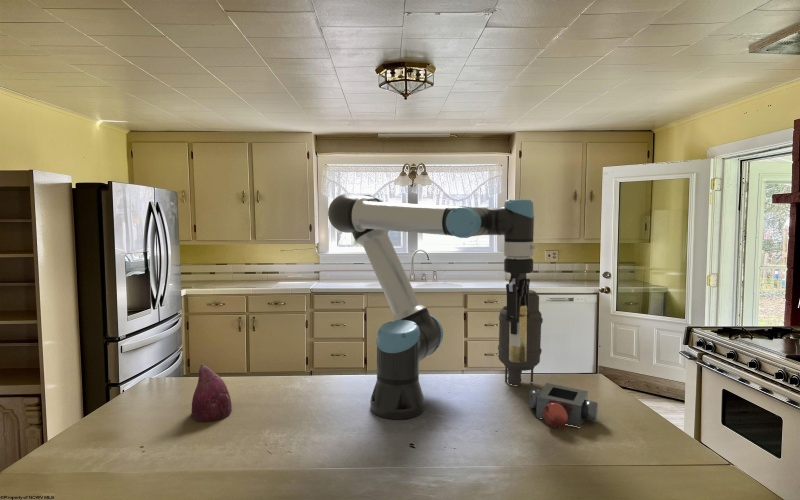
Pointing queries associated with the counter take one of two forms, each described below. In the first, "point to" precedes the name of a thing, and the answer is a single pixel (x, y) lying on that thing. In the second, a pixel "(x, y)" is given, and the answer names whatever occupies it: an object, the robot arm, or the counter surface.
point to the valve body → (562, 405)
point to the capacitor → (532, 341)
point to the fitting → (520, 352)
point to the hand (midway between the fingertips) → (517, 343)
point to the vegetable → (210, 397)
